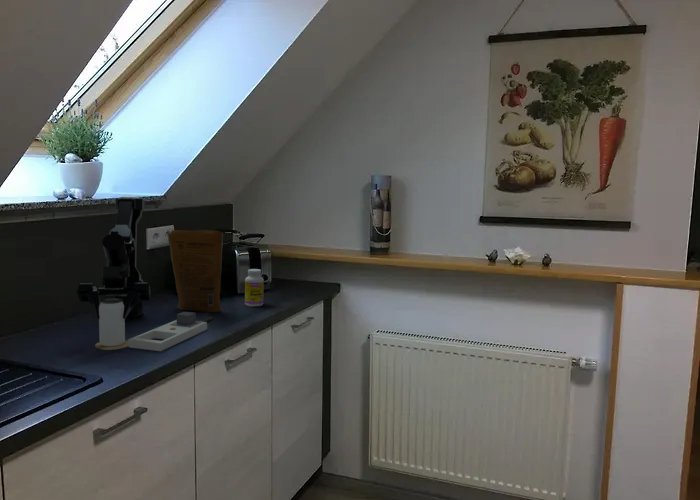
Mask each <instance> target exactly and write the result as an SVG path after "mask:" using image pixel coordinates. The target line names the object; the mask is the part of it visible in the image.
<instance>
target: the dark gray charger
mask: <svg viewBox="0 0 700 500" xmlns="http://www.w3.org/2000/svg"><path fill="white" fill-rule="evenodd" d="M196 316H197V315H196V312H193V311H182V312H180V313H177V314H176V320H177V324H183V325H190V324H192V323H195V322H196V321H197V318H196Z"/></svg>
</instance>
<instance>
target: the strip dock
mask: <svg viewBox="0 0 700 500" xmlns="http://www.w3.org/2000/svg"><path fill="white" fill-rule="evenodd" d="M207 330H208V322H203V320H196V322H195V323H192V324H190V325H183V324H177V319H175V320H173V321H170V322H168V323H165V324H163V325H160V326H157V327H155V328H153V329H151V330H148V331H146V332H142V333H141V334H138V335H135V336H133V337H130V338H129V339H127V340H128V341H129V346H128V348H131V349H138V350H139V349H140V350H148V351H156V352H163V351H164V350H167V349H169V348H170V347H173V346H175V345H177V344H179V343H181V342H183V341H186V340H188V339H190V338H192V337H195V336H196V335H198V334H201V333H203V332H204V331H207ZM156 339H159V340H156Z"/></svg>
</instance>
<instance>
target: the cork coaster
mask: <svg viewBox="0 0 700 500" xmlns="http://www.w3.org/2000/svg"><path fill="white" fill-rule="evenodd" d="M94 345H95V349H98V350H101V351H115V350H116V351H117V350H123V349H125V348H129V340H128V339H125V342H124V343H123V344H122V345H119V346H114V347H105V346H102V345H101V344H100V341H99V342H97V343H95V344H94Z"/></svg>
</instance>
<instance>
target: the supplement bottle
mask: <svg viewBox="0 0 700 500" xmlns="http://www.w3.org/2000/svg"><path fill="white" fill-rule="evenodd" d="M247 275H248V276H247V277H245V279H244V282H245V283H244V305H245V306H246V307H250V308H251V307H256V308H257V307H261V306H263V304H264V289H265V288H264V287H265V285H264V283H265V282H264V280H265V279H264V277H263V276H261V275H262V269H260V268H259V269H258V268H250V269H248V270H247Z"/></svg>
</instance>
